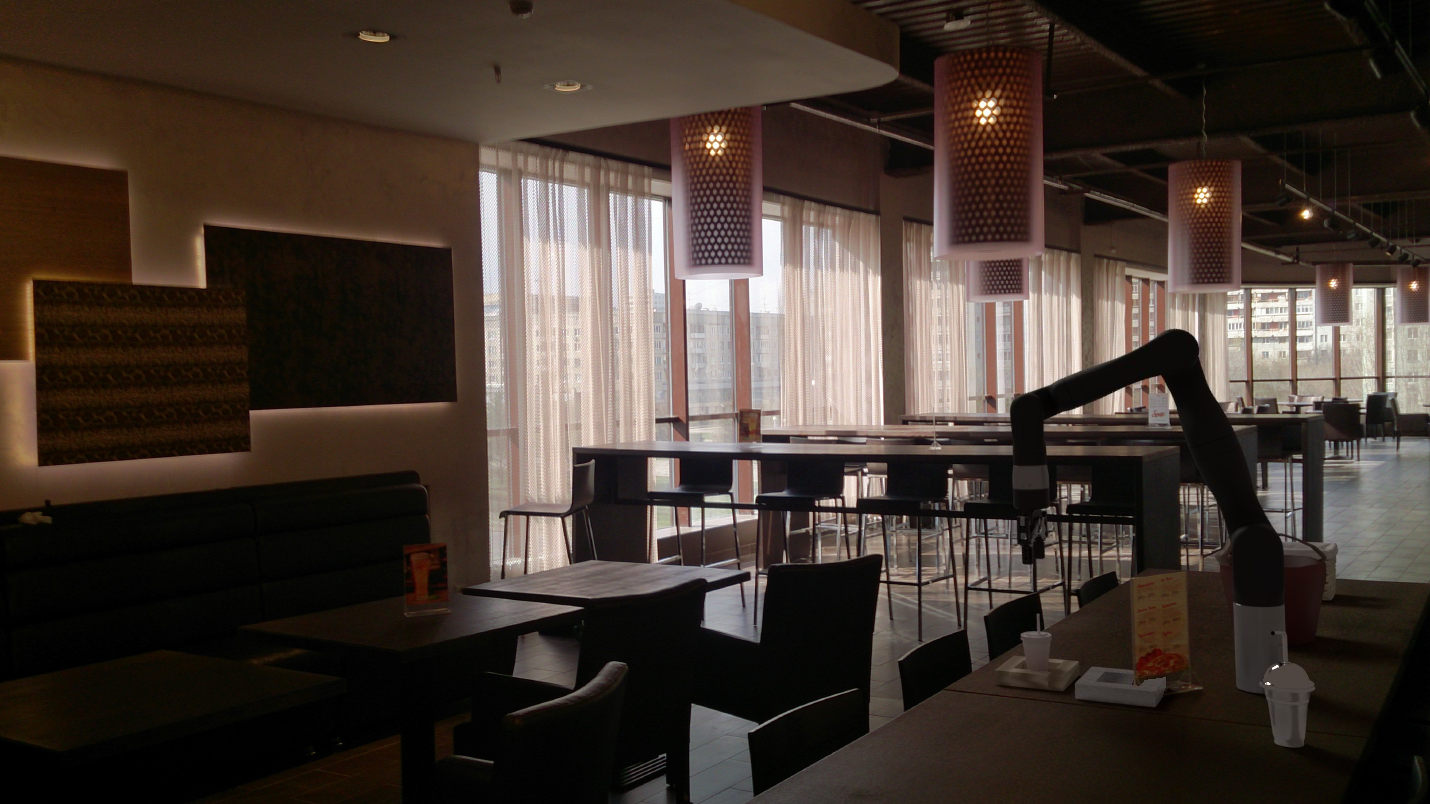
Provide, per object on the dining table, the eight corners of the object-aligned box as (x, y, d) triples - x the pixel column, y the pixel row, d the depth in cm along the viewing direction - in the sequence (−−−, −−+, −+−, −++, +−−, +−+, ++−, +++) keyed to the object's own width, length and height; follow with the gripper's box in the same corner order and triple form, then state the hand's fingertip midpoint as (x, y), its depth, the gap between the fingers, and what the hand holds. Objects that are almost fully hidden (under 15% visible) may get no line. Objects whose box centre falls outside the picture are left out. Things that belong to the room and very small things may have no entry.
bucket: (1218, 644, 259) (1214, 538, 259) (1214, 625, 280) (1210, 527, 280) (1337, 649, 250) (1333, 539, 250) (1324, 629, 271) (1320, 527, 270)
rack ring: (1168, 688, 224) (1168, 673, 224) (1155, 707, 211) (1154, 691, 211) (1092, 680, 232) (1091, 666, 232) (1075, 698, 219) (1074, 683, 219)
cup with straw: (1329, 747, 185) (1325, 628, 185) (1285, 754, 182) (1281, 633, 182) (1289, 733, 193) (1285, 619, 193) (1247, 739, 190) (1243, 623, 190)
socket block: (1079, 675, 237) (1078, 661, 237) (1063, 691, 225) (1062, 676, 225) (1014, 668, 244) (1014, 655, 244) (995, 684, 232) (994, 670, 232)
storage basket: (1239, 597, 314) (1237, 545, 314) (1248, 588, 328) (1246, 538, 328) (1335, 603, 301) (1333, 549, 301) (1340, 593, 314) (1339, 542, 314)
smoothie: (1055, 683, 231) (1052, 617, 231) (1023, 683, 232) (1020, 617, 232) (1052, 676, 237) (1049, 611, 237) (1021, 675, 238) (1018, 611, 238)
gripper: (1038, 489, 229) (1041, 567, 229) (1057, 483, 241) (1060, 557, 241) (1003, 488, 233) (1006, 565, 233) (1023, 483, 245) (1026, 556, 245)
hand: (1033, 561), depth 237 cm, fingers open, 8 cm apart
